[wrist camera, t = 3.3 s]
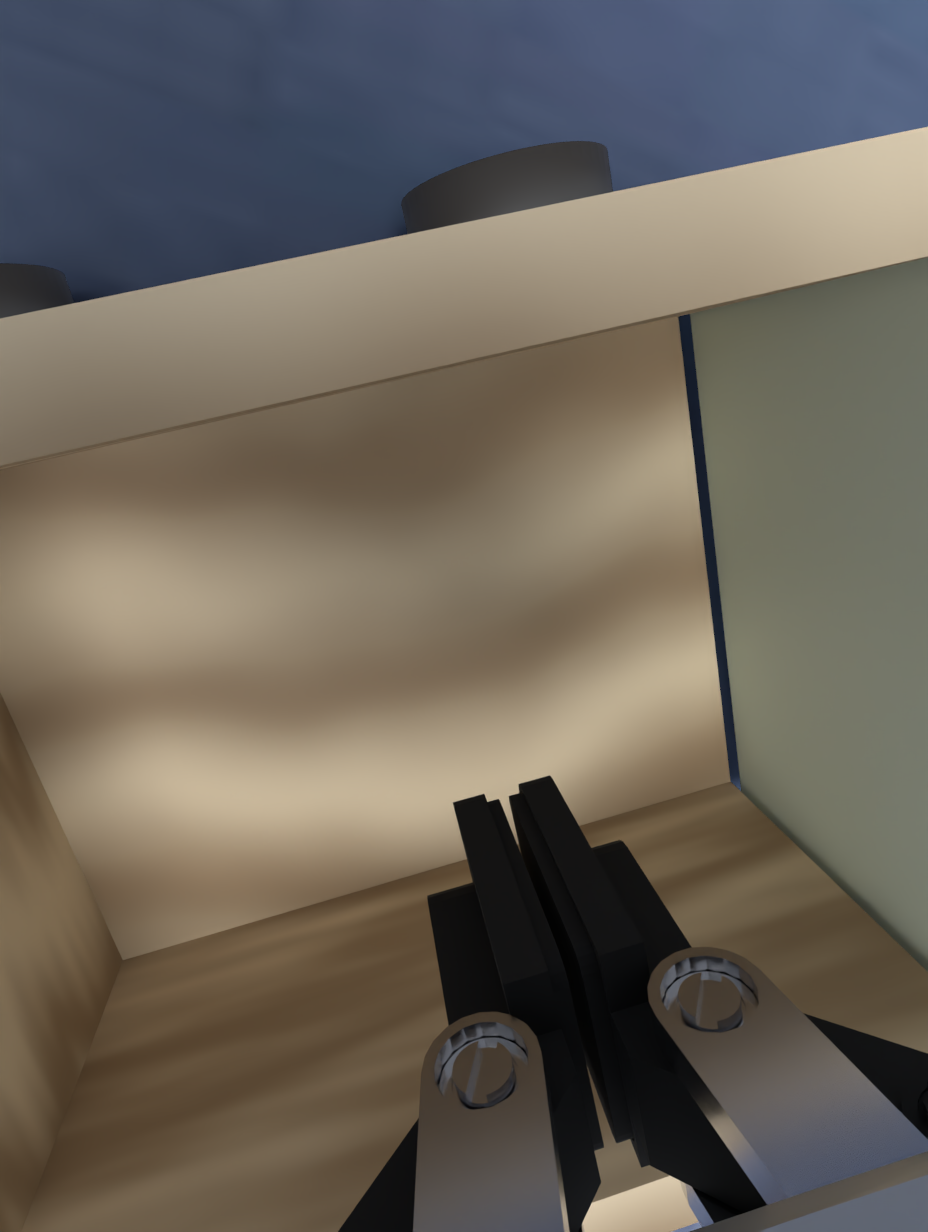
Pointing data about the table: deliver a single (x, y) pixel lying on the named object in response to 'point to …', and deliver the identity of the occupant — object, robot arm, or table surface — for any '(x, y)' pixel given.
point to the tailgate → (828, 571)
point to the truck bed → (373, 666)
